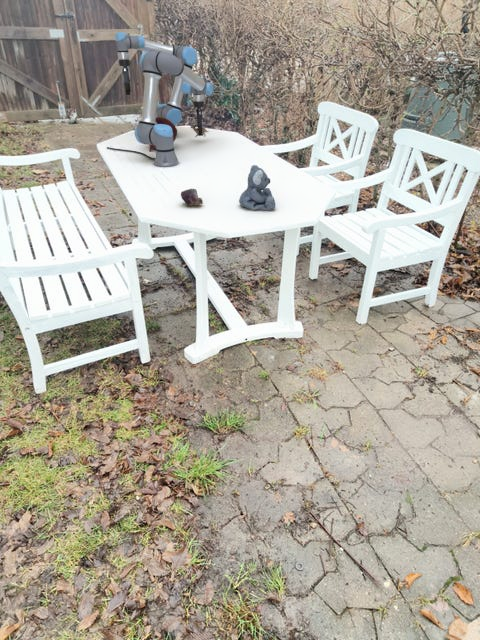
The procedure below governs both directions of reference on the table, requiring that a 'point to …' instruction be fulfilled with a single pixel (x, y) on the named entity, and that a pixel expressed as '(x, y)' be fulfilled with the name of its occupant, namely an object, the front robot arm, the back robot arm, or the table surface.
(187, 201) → the rock
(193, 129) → the dinosaur figurine
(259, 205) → the koala plush
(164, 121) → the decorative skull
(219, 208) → the table surface
